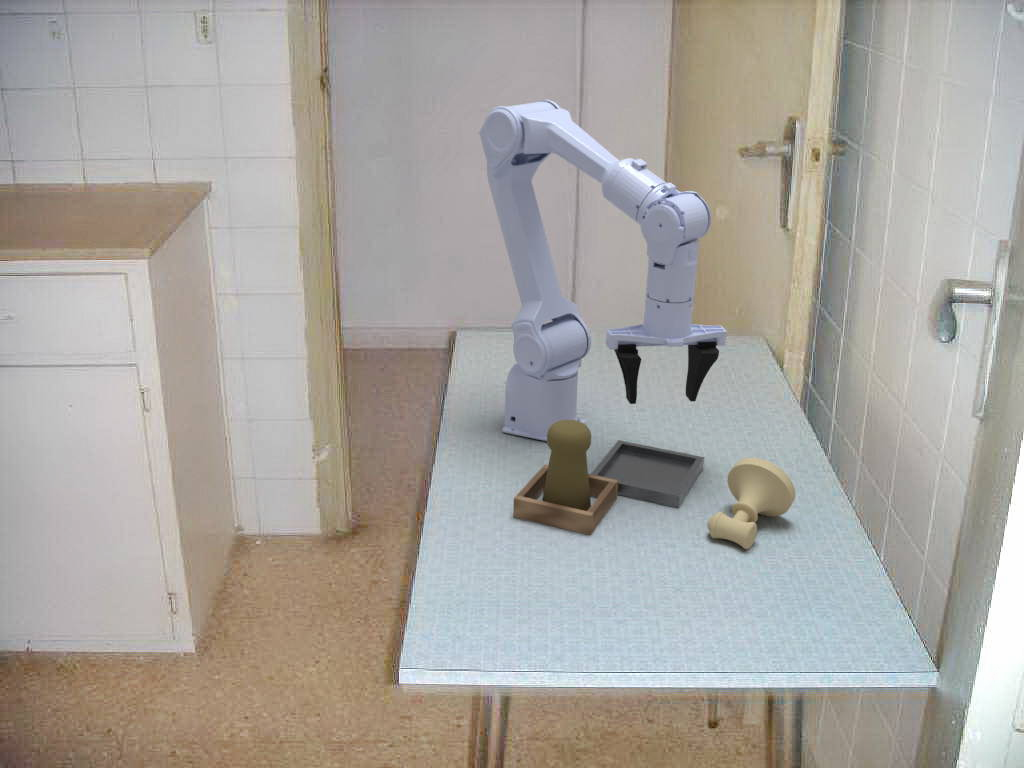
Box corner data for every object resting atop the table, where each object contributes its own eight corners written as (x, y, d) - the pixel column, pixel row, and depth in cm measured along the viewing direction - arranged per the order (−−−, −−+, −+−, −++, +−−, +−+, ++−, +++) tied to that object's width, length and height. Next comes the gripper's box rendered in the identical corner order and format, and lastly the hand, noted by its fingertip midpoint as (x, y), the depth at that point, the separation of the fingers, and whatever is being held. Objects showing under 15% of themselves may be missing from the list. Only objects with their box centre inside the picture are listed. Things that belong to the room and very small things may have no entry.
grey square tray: (587, 488, 135) (588, 476, 134) (617, 450, 144) (618, 440, 144) (678, 508, 130) (679, 496, 130) (703, 468, 140) (704, 457, 140)
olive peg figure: (600, 504, 131) (605, 421, 127) (575, 525, 126) (579, 440, 122) (557, 490, 134) (560, 409, 130) (531, 510, 129) (533, 427, 125)
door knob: (760, 525, 118) (693, 504, 122) (761, 575, 122) (697, 552, 127) (795, 468, 123) (730, 450, 128) (795, 518, 128) (732, 498, 132)
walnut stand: (513, 516, 128) (513, 498, 127) (544, 482, 136) (544, 464, 135) (590, 535, 124) (591, 515, 123) (617, 498, 132) (618, 480, 131)
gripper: (618, 308, 125) (611, 415, 130) (739, 304, 127) (727, 410, 132) (604, 289, 131) (598, 391, 137) (719, 286, 133) (709, 387, 139)
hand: (660, 399), depth 135 cm, fingers open, 7 cm apart
